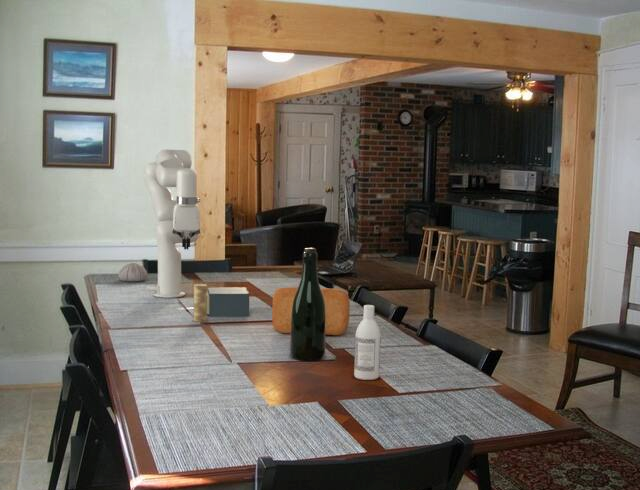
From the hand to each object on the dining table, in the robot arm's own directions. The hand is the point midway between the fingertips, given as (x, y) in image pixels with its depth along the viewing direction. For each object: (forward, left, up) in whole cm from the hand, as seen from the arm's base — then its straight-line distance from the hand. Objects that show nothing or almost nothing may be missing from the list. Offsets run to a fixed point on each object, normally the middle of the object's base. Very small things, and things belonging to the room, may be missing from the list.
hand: (186, 248), depth 310 cm
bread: (+39, -55, -15) cm, 69 cm away
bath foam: (+45, -108, -23) cm, 119 cm away
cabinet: (+15, -13, -23) cm, 30 cm away
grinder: (+4, -27, -23) cm, 36 cm away
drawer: (+11, -13, -22) cm, 28 cm away
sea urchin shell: (-22, +68, -23) cm, 75 cm away
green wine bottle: (+33, -84, -23) cm, 93 cm away
